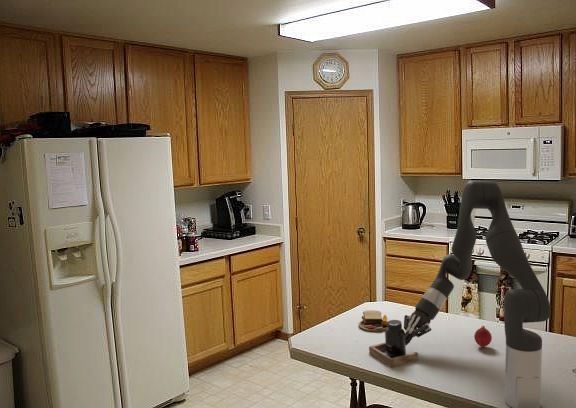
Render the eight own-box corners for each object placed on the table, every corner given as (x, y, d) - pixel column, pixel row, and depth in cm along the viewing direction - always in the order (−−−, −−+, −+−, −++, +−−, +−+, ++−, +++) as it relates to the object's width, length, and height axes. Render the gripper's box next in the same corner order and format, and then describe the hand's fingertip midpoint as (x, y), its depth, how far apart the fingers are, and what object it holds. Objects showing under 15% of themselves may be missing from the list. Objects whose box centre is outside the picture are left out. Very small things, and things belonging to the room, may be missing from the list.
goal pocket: (394, 346, 191) (394, 340, 191) (417, 359, 179) (417, 352, 179) (369, 353, 186) (369, 346, 186) (391, 367, 175) (391, 359, 174)
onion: (492, 351, 184) (493, 329, 183) (475, 350, 185) (475, 328, 184) (490, 344, 189) (490, 323, 188) (473, 343, 191) (473, 322, 190)
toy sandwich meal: (357, 332, 207) (357, 320, 206) (359, 320, 220) (359, 309, 219) (390, 333, 204) (390, 321, 203) (390, 321, 217) (390, 309, 217)
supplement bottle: (383, 357, 182) (381, 324, 180) (389, 349, 188) (387, 317, 186) (402, 360, 179) (400, 327, 177) (408, 352, 185) (406, 319, 183)
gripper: (413, 292, 192) (386, 331, 189) (437, 302, 180) (409, 344, 177) (424, 304, 195) (398, 342, 192) (449, 314, 183) (422, 355, 180)
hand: (403, 343), depth 184 cm, fingers closed
